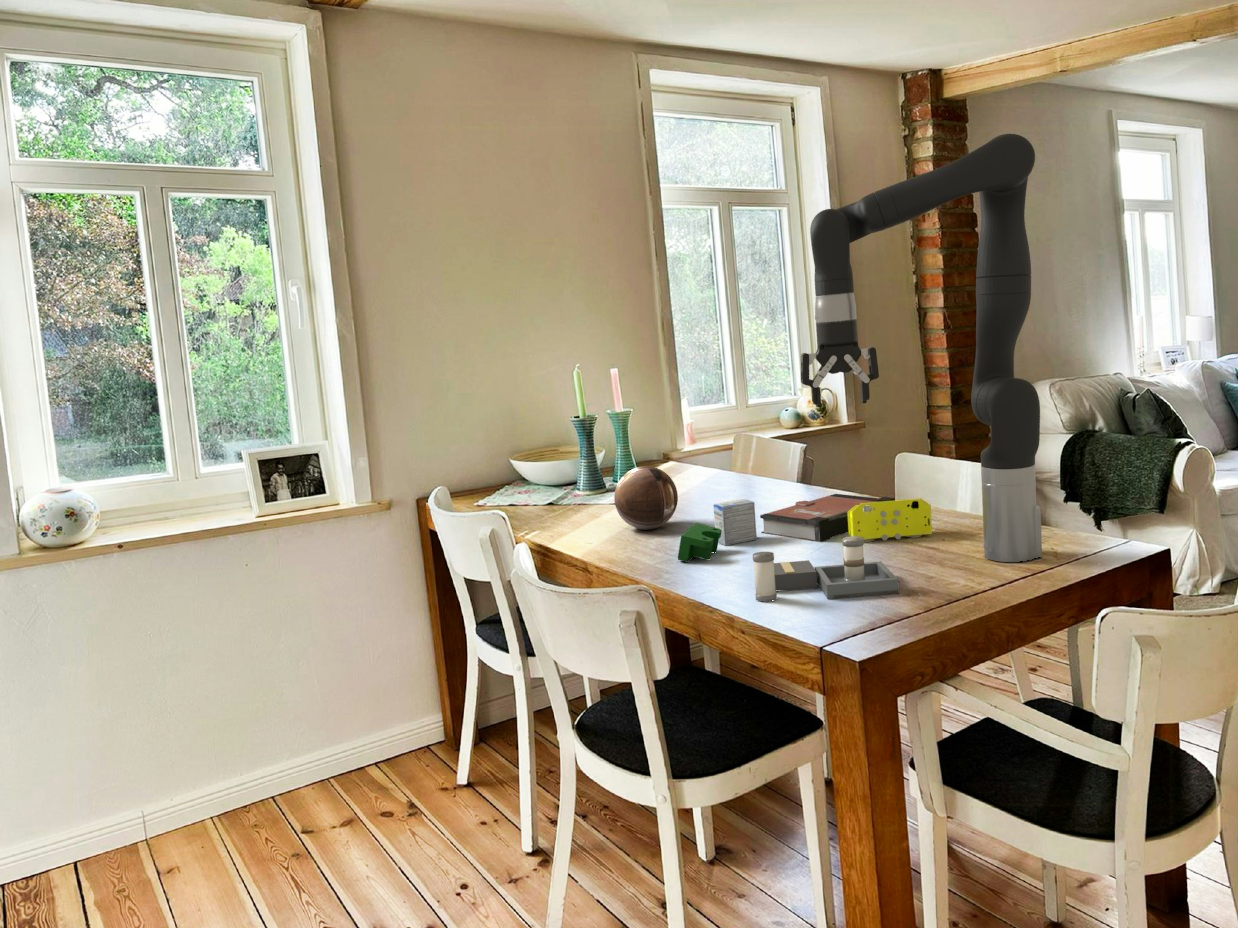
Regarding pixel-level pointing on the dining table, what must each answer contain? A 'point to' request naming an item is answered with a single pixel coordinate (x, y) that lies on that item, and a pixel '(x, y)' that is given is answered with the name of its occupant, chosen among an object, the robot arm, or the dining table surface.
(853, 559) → the ball
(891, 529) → the yellow toy chassis
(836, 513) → the book
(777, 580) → the block
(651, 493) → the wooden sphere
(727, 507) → the medicine box
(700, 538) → the clamp
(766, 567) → the fuse
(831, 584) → the parts tray
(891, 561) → the dining table surface
